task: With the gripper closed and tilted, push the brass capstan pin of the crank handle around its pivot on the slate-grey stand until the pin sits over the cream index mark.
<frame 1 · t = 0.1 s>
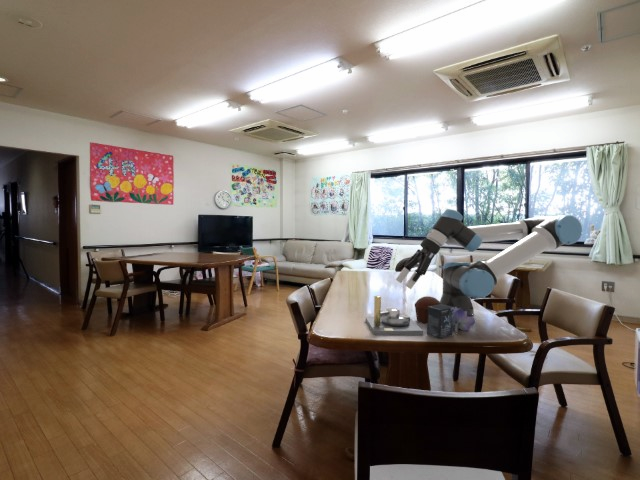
hand: (402, 284, 135), 15 cm above the table, tool tilted 35°, fingers open, 13 cm apart
crank handle: (390, 308, 126), point 8 cm above the table, hinge at 0.0°
flower: (460, 331, 124), on the table
stand: (392, 327, 127), on the table
box: (440, 335, 118), on the table
muffin: (428, 321, 135), on the table
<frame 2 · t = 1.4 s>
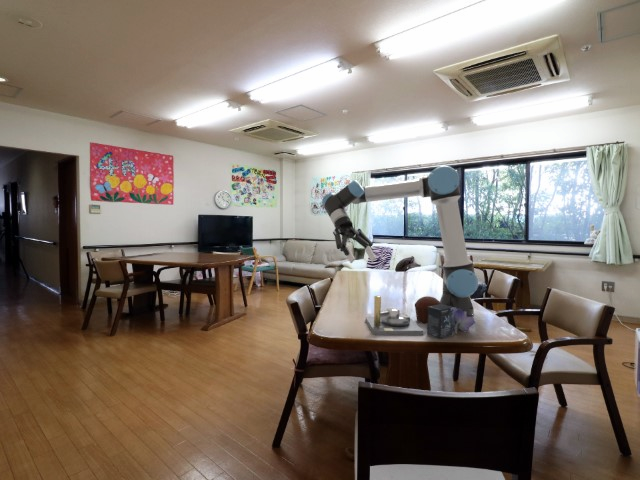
hand: (363, 260, 132), 25 cm above the table, tool tilted 45°, fingers open, 10 cm apart
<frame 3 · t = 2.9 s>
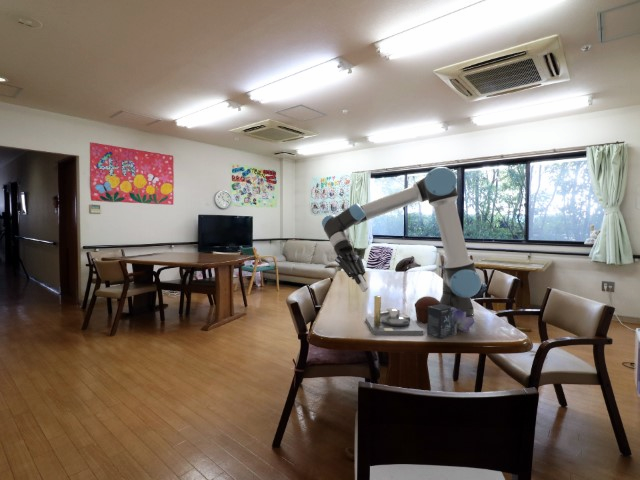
hand: (365, 289, 128), 14 cm above the table, tool tilted 45°, fingers closed
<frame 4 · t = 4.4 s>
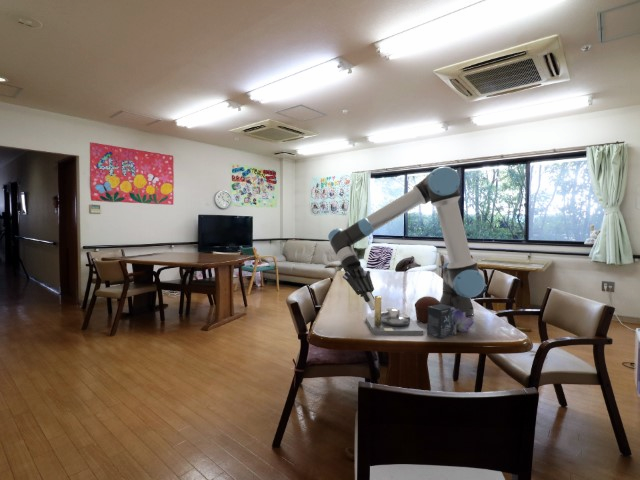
hand: (374, 308, 124), 8 cm above the table, tool tilted 45°, fingers closed
crank handle: (390, 308, 126), point 8 cm above the table, hinge at 1.6°, touching gripper
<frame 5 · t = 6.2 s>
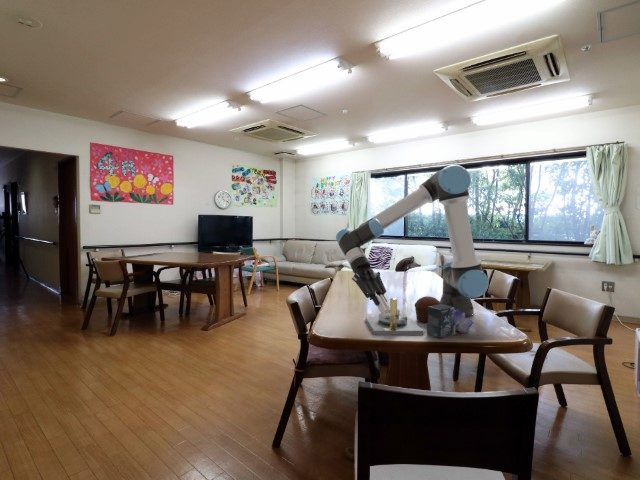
hand: (386, 311, 120), 8 cm above the table, tool tilted 45°, fingers closed
crank handle: (393, 309, 125), point 8 cm above the table, hinge at 46.3°, touching gripper
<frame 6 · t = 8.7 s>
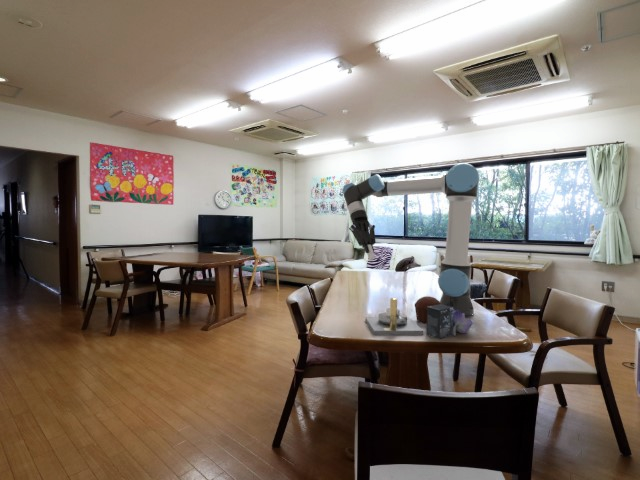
hand: (372, 259, 142), 25 cm above the table, tool tilted 30°, fingers closed
crank handle: (393, 309, 125), point 8 cm above the table, hinge at 46.4°
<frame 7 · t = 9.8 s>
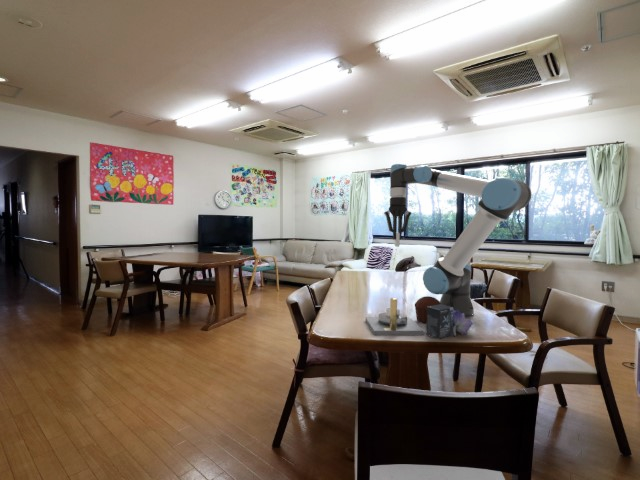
hand: (397, 246, 158), 29 cm above the table, tool pointing down, fingers closed
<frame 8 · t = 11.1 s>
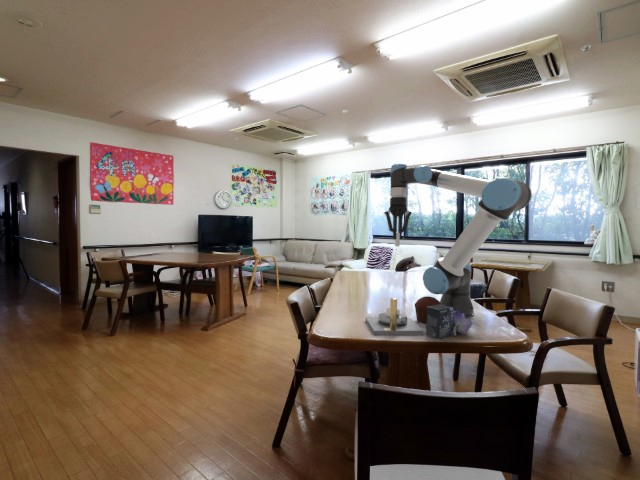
hand: (397, 246, 158), 29 cm above the table, tool pointing down, fingers closed
at the end: crank handle at +46° (first picture: +0°) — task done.
